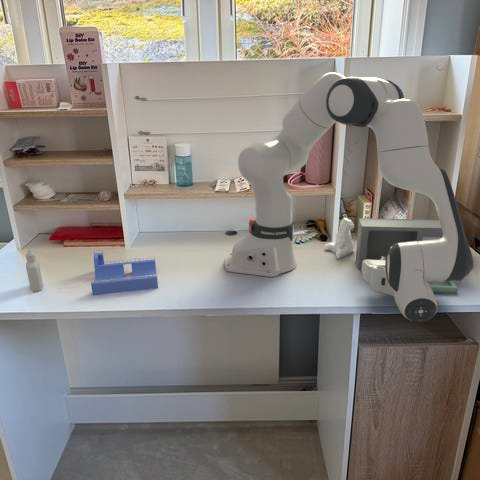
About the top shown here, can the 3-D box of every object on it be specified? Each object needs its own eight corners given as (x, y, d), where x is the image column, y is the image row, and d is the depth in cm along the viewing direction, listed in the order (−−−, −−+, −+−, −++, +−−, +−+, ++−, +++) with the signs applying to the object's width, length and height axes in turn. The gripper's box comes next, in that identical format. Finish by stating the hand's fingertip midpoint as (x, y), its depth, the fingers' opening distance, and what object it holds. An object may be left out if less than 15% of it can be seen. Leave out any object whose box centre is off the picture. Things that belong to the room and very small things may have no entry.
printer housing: (358, 270, 142) (362, 226, 137) (355, 259, 149) (359, 218, 144) (454, 273, 139) (462, 229, 134) (447, 262, 146) (453, 220, 141)
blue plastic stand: (92, 296, 130) (89, 273, 127) (96, 272, 145) (93, 250, 142) (158, 289, 133) (156, 266, 131) (155, 266, 148) (153, 245, 146)
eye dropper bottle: (24, 292, 132) (16, 253, 128) (34, 283, 137) (27, 245, 133) (39, 292, 132) (31, 253, 127) (48, 283, 137) (41, 245, 133)
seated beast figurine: (322, 249, 158) (324, 215, 154) (344, 245, 161) (346, 212, 157) (337, 259, 150) (340, 224, 146) (360, 255, 153) (363, 220, 149)
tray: (414, 292, 128) (415, 286, 128) (406, 274, 138) (406, 269, 138) (456, 293, 127) (457, 287, 126) (444, 276, 137) (445, 270, 136)
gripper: (450, 270, 117) (435, 250, 130) (366, 267, 119) (360, 247, 132) (446, 293, 119) (432, 270, 132) (364, 290, 122) (358, 268, 134)
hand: (395, 259), depth 132 cm, fingers closed on supplement bottle, 5 cm apart
